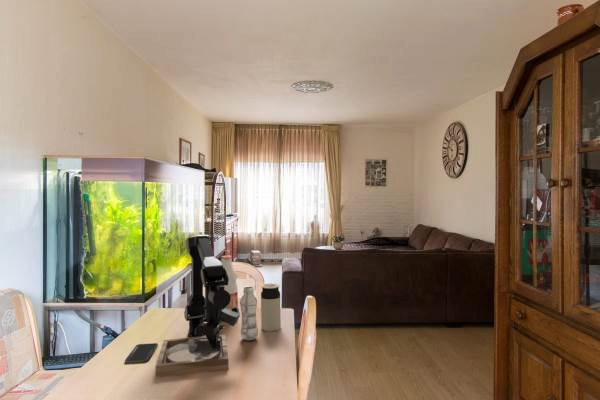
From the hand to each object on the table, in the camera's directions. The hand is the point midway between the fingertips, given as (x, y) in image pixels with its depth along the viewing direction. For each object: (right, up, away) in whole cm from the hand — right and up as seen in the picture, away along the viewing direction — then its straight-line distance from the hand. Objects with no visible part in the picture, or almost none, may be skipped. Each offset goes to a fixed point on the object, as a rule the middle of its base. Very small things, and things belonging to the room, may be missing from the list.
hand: (214, 348), depth 132 cm
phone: (-27, -5, +7) cm, 28 cm away
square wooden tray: (-7, -4, +2) cm, 9 cm away
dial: (-7, -3, +2) cm, 8 cm away
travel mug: (+17, -4, +32) cm, 36 cm away
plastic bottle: (+9, -4, +20) cm, 22 cm away
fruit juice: (-4, -4, +45) cm, 46 cm away
